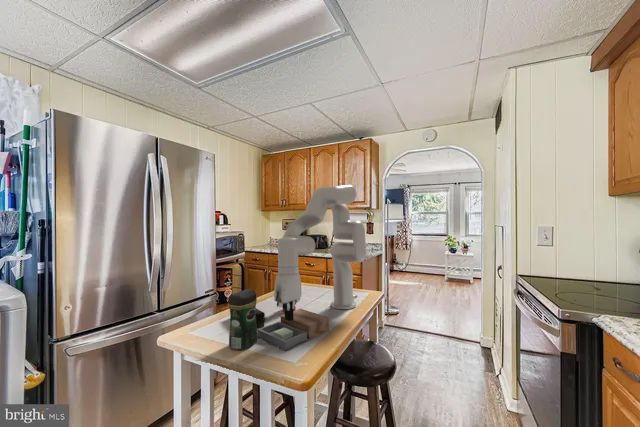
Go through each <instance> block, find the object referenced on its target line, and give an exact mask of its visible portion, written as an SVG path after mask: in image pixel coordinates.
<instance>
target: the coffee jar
mask: <svg viewBox="0 0 640 427" xmlns="http://www.w3.org/2000/svg"><path fill="white" fill-rule="evenodd" d="M257 299H258V298H257V293H256V291H255V290H254V289H246V288H245V289H243V290H241V291H237V292H235V293H232V294H230V295H229V296H228V305H227V306H228V308H229V312H230V315H229V316H230V317H229V318H230V320H229V335H228V347H229V348H230V349H232V350H235V351H239V350H240V351H244V350H246V349H249V348H250V347H251V346H253V345H254V344H256V343H257V341H258V340H259V338H258V336H257V325H256V308H257V307H256V305H257V302H258V300H257Z"/></svg>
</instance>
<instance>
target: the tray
mask: <svg viewBox="0 0 640 427" xmlns="http://www.w3.org/2000/svg"><path fill="white" fill-rule="evenodd" d="M282 328H287V329H289V330H292V331H293V337H291V338H289V339H287V340H283V339H281V338H279V337H277V336H274V331H277V330H279V329H282ZM257 336H258V340H259V339H260V340H262V341H264V342H266V343H268V344H270V345H272V346H274V347H276V348H278V349H280V350H282V351H284V352H287V351H289V350H292V349H293V348H295V347H297V346H299V345H301V344H303V343H306V342H307V341H308V339H307V332H305V331H302V330H300V329H297V328H294V327H292V326H289V325H287V324H284V323H281V321H277V322H274V323H271V324H268V325H264V327H262V328H259V329H257Z"/></svg>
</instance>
